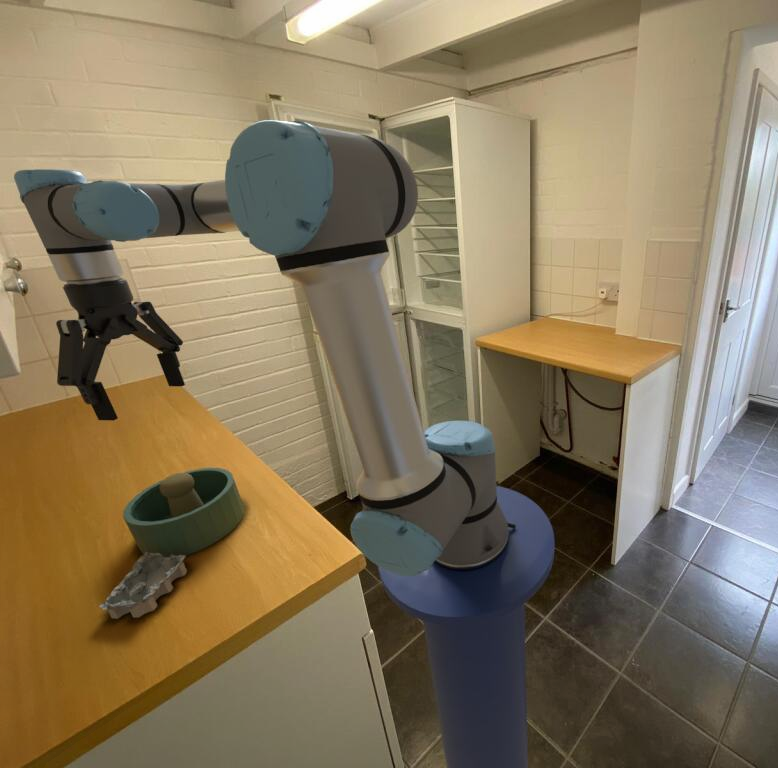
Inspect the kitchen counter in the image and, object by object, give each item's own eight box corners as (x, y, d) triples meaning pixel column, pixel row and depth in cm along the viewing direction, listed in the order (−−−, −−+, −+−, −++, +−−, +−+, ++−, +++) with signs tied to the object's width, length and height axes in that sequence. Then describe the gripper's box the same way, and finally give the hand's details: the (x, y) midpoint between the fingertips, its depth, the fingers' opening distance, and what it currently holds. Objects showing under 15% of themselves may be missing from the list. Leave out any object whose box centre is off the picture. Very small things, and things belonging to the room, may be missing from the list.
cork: (181, 516, 85) (161, 472, 81) (215, 509, 87) (197, 465, 82) (169, 537, 80) (148, 490, 75) (206, 529, 82) (187, 483, 77)
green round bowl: (262, 499, 91) (252, 469, 87) (201, 562, 75) (186, 527, 72) (190, 496, 92) (177, 466, 89) (115, 556, 77) (96, 522, 74)
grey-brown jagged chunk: (156, 565, 75) (148, 548, 73) (196, 566, 74) (189, 548, 73) (99, 620, 65) (88, 601, 63) (145, 621, 64) (135, 602, 63)
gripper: (143, 268, 77) (183, 374, 86) (-28, 296, 55) (49, 436, 63) (180, 268, 77) (216, 374, 85) (23, 296, 54) (94, 437, 62)
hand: (145, 401), depth 74 cm, fingers open, 13 cm apart
